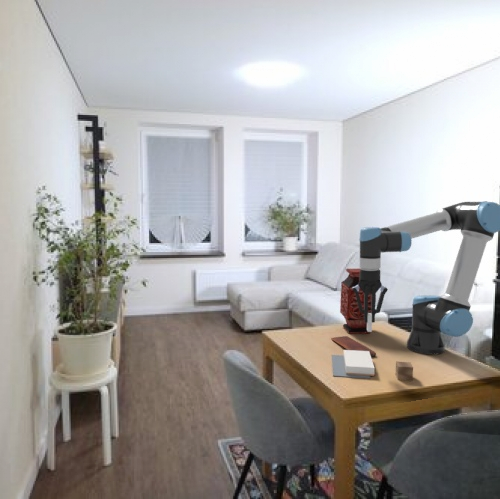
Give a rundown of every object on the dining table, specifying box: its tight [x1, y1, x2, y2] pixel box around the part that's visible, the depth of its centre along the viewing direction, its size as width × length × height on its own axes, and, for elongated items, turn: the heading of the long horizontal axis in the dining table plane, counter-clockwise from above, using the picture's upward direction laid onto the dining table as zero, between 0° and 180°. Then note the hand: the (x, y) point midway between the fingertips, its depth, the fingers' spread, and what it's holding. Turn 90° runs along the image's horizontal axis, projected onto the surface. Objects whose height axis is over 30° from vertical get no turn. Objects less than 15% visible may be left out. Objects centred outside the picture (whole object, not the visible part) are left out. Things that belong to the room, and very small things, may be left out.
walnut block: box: [394, 361, 414, 382], centre depth 156 cm, size 5×5×5 cm
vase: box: [339, 268, 377, 335], centre depth 213 cm, size 14×14×30 cm
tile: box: [342, 349, 376, 377], centre depth 167 cm, size 3×18×10 cm
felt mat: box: [331, 354, 371, 379], centre depth 167 cm, size 13×22×1 cm, turn 171°
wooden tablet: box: [331, 335, 377, 357], centre depth 189 cm, size 27×10×2 cm, turn 12°
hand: (369, 330), depth 165 cm, fingers closed
